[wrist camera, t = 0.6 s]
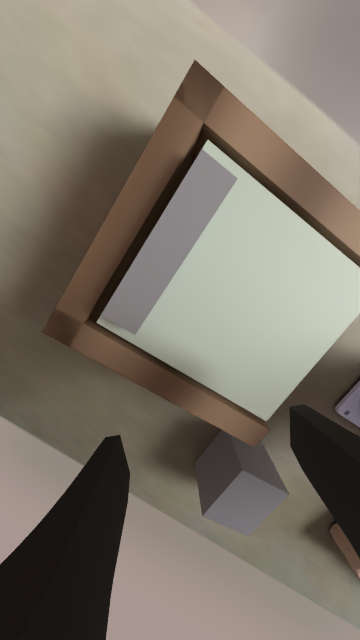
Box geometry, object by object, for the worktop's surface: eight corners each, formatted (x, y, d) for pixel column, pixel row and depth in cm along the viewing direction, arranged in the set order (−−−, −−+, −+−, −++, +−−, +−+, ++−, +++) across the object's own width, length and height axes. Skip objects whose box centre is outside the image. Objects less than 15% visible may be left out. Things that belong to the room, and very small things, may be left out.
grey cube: (263, 444, 22) (289, 493, 18) (231, 480, 23) (248, 536, 19) (225, 423, 21) (242, 470, 17) (194, 462, 22) (202, 516, 18)
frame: (335, 259, 18) (416, 262, 12) (229, 393, 20) (254, 447, 15) (183, 134, 15) (194, 59, 9) (82, 306, 18) (42, 332, 12)
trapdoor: (365, 284, 14) (404, 290, 11) (259, 410, 15) (275, 435, 13) (203, 149, 11) (213, 124, 9) (101, 317, 13) (89, 329, 11)
